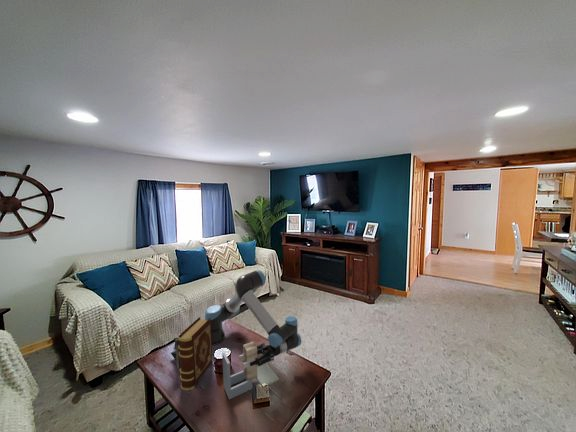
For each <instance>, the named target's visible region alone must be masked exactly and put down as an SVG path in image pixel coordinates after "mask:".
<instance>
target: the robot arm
mask: <svg viewBox="0 0 576 432" xmlns="http://www.w3.org/2000/svg"><path fill="white" fill-rule="evenodd" d="M266 280H267V279H266V276H265V274H264V272H263V271H261V270H259V269H257V270H253V271H251V272H249V273H246V274H243V275H241V276H239V277H238V278H237V280H236V281H235V293H234V295H232V297H231V298H228V299H227V300H226V301H225V302H223V304H220V305H219V304H214V305H211V306H209V307H208V308H207V309H205V313H204V320H208V319H209V318H210V321H211V340H212V346H215V345H218V344H220V343H222V342H223V341H224V340H225V338H226V332H225V330H224V329H223V323H224V322H225V321H227V320H229V319H230V318H232V317H235V316H236V315H238V314H239V312H240V310H241V309H240V307H241V305H242V304H243V303H244V304H245V305H246V306H247V308H248V309H249V310H250V312H251V313H252V314H253V316H254V317H255V319H256V320H257V321H258V323H259V324H260V326H261V327H262V328H263V329H264V331H265V332H266V333H267V335H268V337H267V341H268V345H266V343H264V342H262V343H261V344H259V345H256V346H257V355H260V356H259V357H258V356H257V358H256V360H255V359H252V360H250V361H247V362H245V363H243V364H244V368H247V367H249V366H253V365H255V364H256V365H257V367H259V366H261V365H263V364H266V363H267V364H268V363H269V362H271V361H274V360H275V357H277V356H279V355H281V354H283V353H284V354H285V353H286V352H288V351H291V350H293V349H296V348H297V347H301V345H302V337H301V335H300V334H299V333H298V325H299V324H298V318H297V317H295V316H293V315H289V316H286V318H285V321H284V324H282V325H281V326H279V324H278V323H277V322H276V320H275V319H274V318H273V316H271V314H270V313H269V312H268V311H267V309H266V308H265V306H264V305H263V304H262V302H261V301H260V300H259V298H258V297H257V296H256V294H255V293H256V291H257V290H258V289H259V288H261V287H264V286H265V284H266ZM238 359H239V362H240V361H241V362H242V361H243V353H242V354H240V355H239V356H238ZM243 364H242V365H243Z"/></svg>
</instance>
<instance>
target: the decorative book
mask: <svg viewBox="0 0 576 432" xmlns="http://www.w3.org/2000/svg"><path fill="white" fill-rule="evenodd" d="M177 338H178V340H179V346H178V348H179V350H180V352H179V356H180V367H181V368H180V369H179V372H180V376H179V379H180V382H181V384H180V388H181V390H183V391H187V392H188V391H192V390H194V389H195V387H196V386H197V385H198V383H199V381H200V380H201V379H202V377H204V375H205V374H206V372H207V370H208V369H209V368H210V366H212V363H213V348H212V347H213V345H212V340H211V321H210V318H209V319H208V320H205V319H201V316H199V317H198V318H197V319H195V320H194V321H193V322H192V323H191V324H190V325H189V326H188V327H187V328H185V330H183V332H181V333H180V334H179V335H177Z"/></svg>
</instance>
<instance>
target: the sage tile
mask: <svg viewBox="0 0 576 432" xmlns="http://www.w3.org/2000/svg"><path fill="white" fill-rule="evenodd" d="M257 370H258V377H257V378H256V380H257V381H258V382H259V384H260V385H261V384H263V383H266V384H268V386H270V385H272V384H274V383H276V382H278V381H279V380H280V379H279V377H278V376H277V374H276V373H275V372H274V370H273V369H272V368H271V367H270V365H269V364H268V362H267V363H265V364H263V365H261V366H257Z"/></svg>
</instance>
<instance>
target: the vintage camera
mask: <svg viewBox="0 0 576 432" xmlns="http://www.w3.org/2000/svg"><path fill="white" fill-rule="evenodd" d="M173 342H174V346H173V347H174V349H175V351H172V352H170V355H171V356H172V357H173V359H174V360H175V361H176V367H177V369H178V370H180V368H181V367H180V356H179V352H180V350H179V348H178V346H179V340H178V336H177V337H174V338H173Z"/></svg>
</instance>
